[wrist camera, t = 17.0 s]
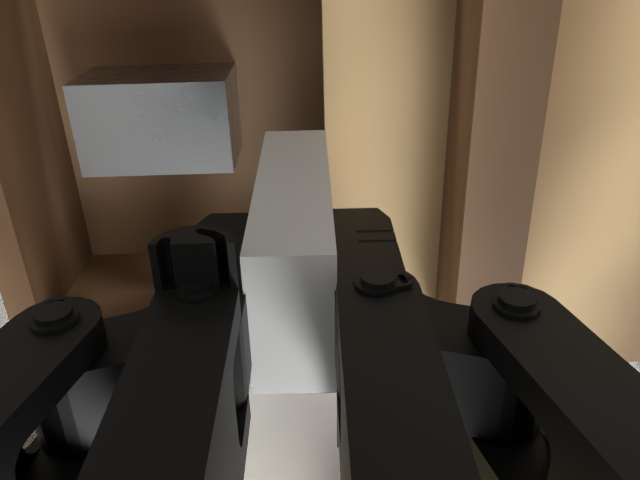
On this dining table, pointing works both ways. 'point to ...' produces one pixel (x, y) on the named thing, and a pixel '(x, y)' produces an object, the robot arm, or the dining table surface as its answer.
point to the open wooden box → (131, 191)
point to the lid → (495, 145)
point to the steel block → (155, 119)
